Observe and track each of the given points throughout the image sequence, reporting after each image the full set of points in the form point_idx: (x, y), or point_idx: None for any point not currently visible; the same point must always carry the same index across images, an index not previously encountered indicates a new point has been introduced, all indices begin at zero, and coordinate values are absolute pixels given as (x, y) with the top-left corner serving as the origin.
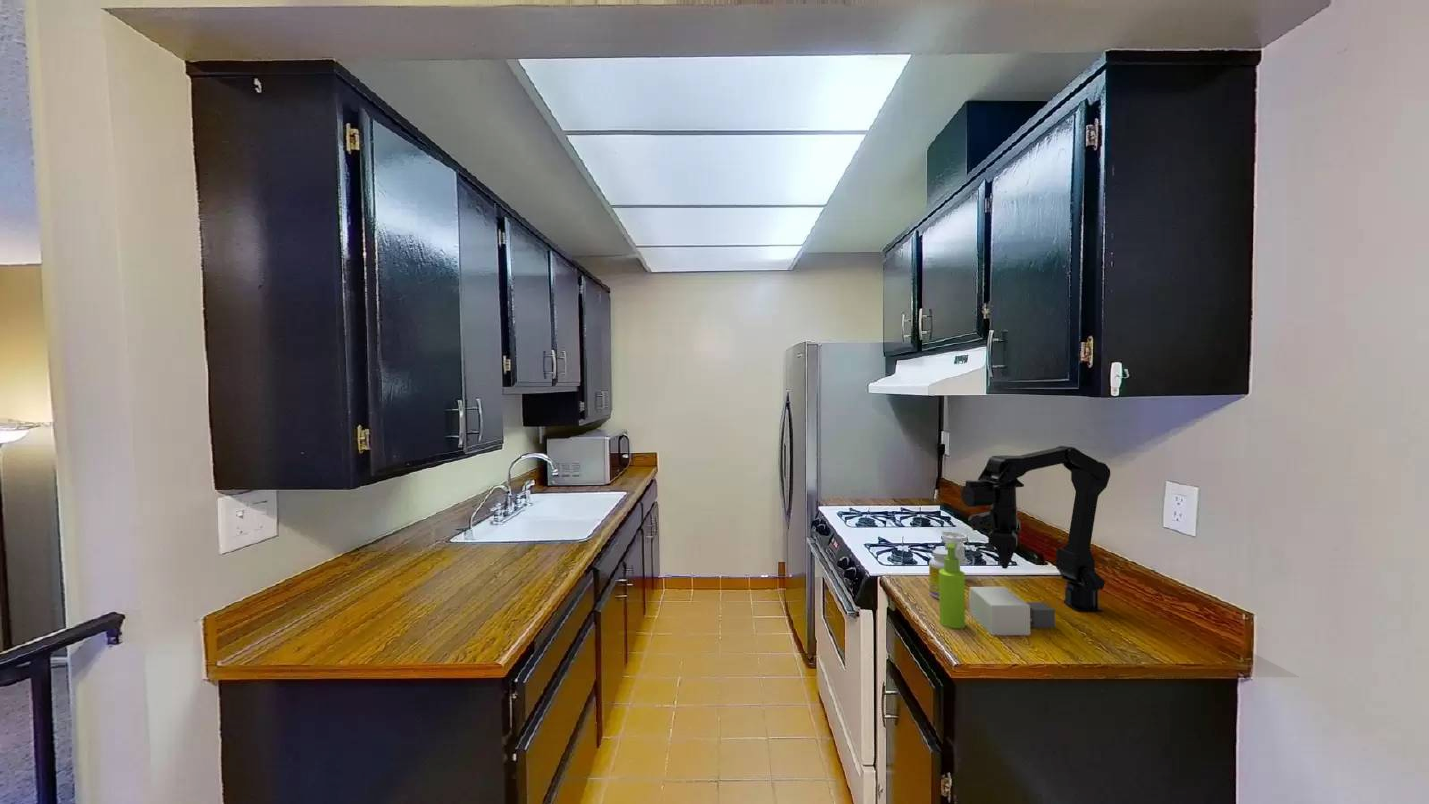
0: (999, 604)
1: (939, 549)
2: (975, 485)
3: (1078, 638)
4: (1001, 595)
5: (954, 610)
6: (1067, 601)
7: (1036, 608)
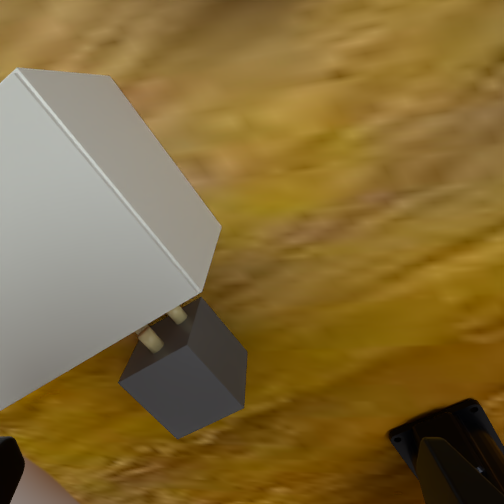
0: None
1: None
2: None
3: (152, 429)
4: (16, 298)
5: None
6: (436, 425)
7: (144, 389)
